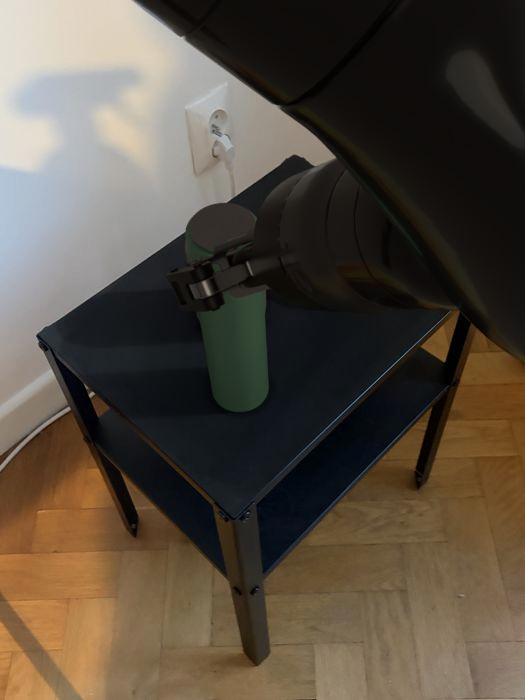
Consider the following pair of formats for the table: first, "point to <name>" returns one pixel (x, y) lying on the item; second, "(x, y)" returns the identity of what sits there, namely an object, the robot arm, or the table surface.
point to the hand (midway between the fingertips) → (250, 253)
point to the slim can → (231, 316)
